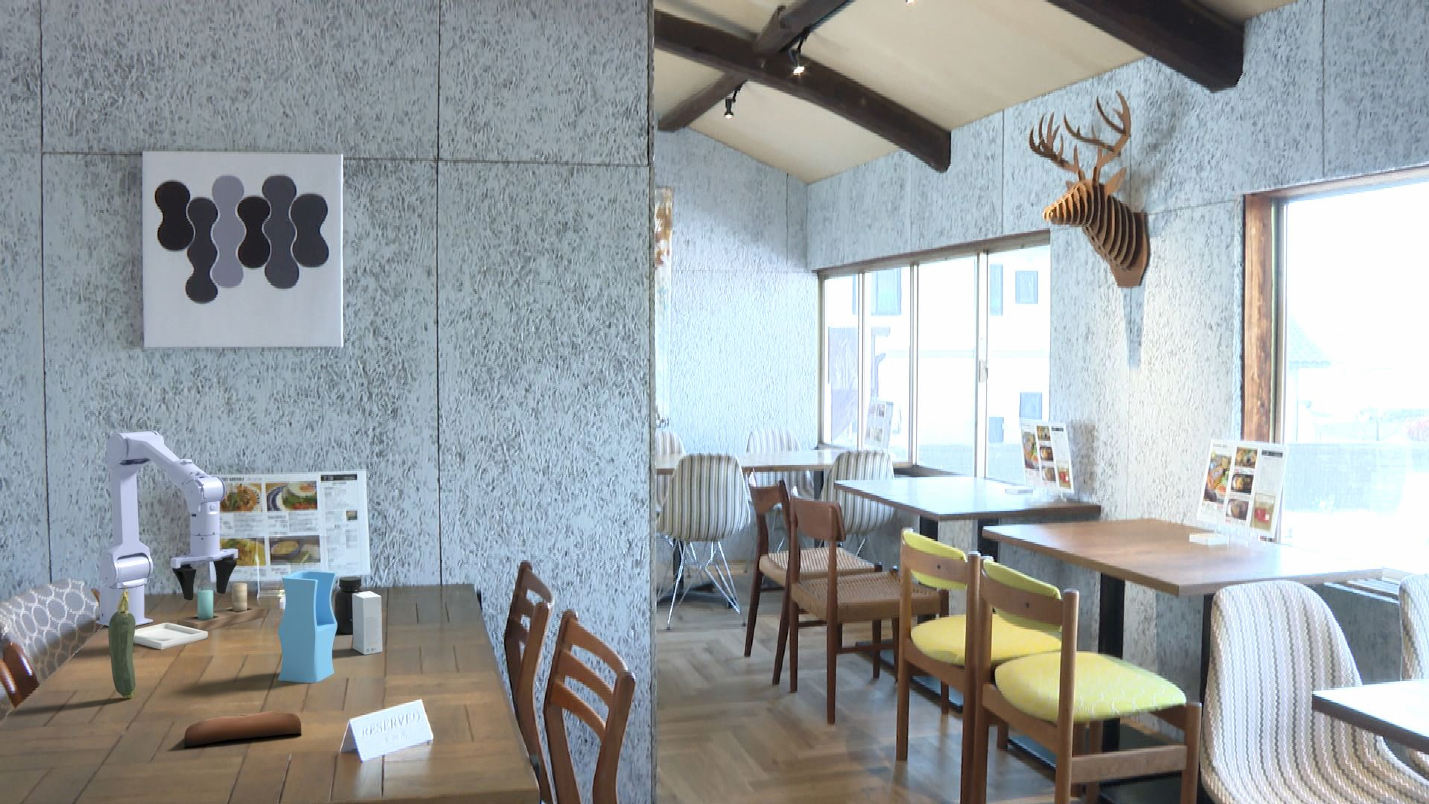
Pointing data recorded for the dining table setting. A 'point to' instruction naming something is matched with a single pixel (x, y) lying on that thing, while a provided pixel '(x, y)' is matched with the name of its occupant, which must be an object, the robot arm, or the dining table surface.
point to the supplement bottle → (345, 603)
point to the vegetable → (122, 647)
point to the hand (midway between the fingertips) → (205, 596)
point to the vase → (307, 627)
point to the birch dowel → (239, 597)
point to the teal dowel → (205, 605)
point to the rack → (223, 618)
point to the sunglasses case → (242, 727)
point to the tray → (167, 635)
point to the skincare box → (367, 622)
